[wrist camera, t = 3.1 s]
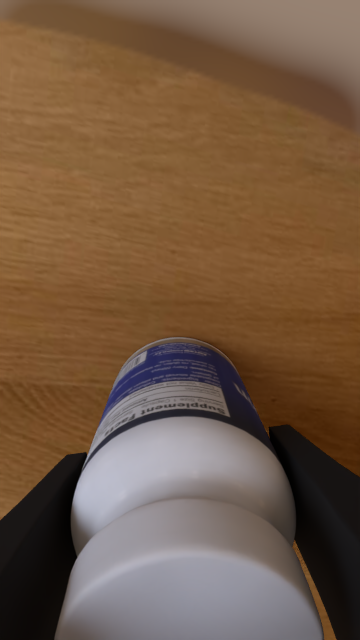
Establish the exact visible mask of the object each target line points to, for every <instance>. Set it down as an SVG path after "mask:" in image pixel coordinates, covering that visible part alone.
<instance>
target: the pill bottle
mask: <svg viewBox="0 0 360 640" xmlns="http://www.w3.org/2000/svg"><path fill="white" fill-rule="evenodd" d="M295 531H296V508H295V501H294V496H293V492H292V489H291V486H290V483H289V480H288V478H287V475H286V473H285V470H284V468H283V466H282V464H281V461H280V459H279V457H278V455H277V453H276V451H275V449H274V447H273V445H272V443H271V441H270V439H269V437H268V435H267V433H266V431H265V429H264V426H263V424H262V422H261V420H260V418H259V416H258V414H257V411H256V409H255V407H254V405H253V403H252V401H251V399H250V396H249V394H248V392H247V390H246V388H245V386H244V384H243V382H242V380H241V377H240V375H239V373H238V371H237V370H236V368H235V366H234V365H233V363H232V362H231V361H230V360H229V358H228V357H227V356H226V355H225V354H224V353H222V352H221V351H220V350H218V349H217V348H215V347H214V346H212V345H210V344H208V343H205V342H203V341H200V340H197V339H192V338H185V337H173V338H166V339H161V340H158V341H155V342H153V343H150V344H148V345H146V346H144V347H143V348H141V349H140V350H138V351H137V352H135V353H134V354H133V355H132V356H131V357H130V358H129V359H128V360H127V361H126V363H125V364H124V365H123V367H122V368H121V370H120V372H119V374H118V376H117V378H116V380H115V382H114V385H113V388H112V391H111V393H110V396H109V399H108V401H107V404H106V407H105V410H104V413H103V415H102V418H101V421H100V424H99V426H98V429H97V432H96V434H95V437H94V440H93V442H92V445H91V448H90V451H89V453H88V456H87V458H86V461H85V464H84V466H83V469H82V472H81V474H80V477H79V480H78V483H77V487H76V490H75V493H74V498H73V503H72V509H71V534H72V539H73V544H74V548H75V551H76V555H77V557H78V558H77V559H76V561H75V563H74V566H73V568H72V571H71V573H70V577H69V581H68V585H67V589H66V594H65V598H64V602H63V606H62V609H61V613H60V617H59V621H58V625H57V629H56V633H55V638H54V640H324V634H323V628H322V623H321V619H320V616H319V613H318V610H317V607H316V604H315V602H314V599H313V596H312V593H311V590H310V588H309V585H308V582H307V580H306V577H305V575H304V572H303V570H302V567H301V564H300V562H299V559H298V557H297V555H296V553H295V551H294V549H293V548H292V546H293V542H294V538H295Z"/></svg>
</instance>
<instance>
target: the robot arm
mask: <svg viewBox="0 0 360 640" xmlns="http://www.w3.org/2000/svg"><path fill="white" fill-rule="evenodd" d="M269 437H270V441H271V443H272V445H273V447H274V449H275V451H276V453H277V455H278V457H279V459H280V461H281V464H282V466H283V468H284V470H285V473H286V475H287V478H288V480H289V483H290V486H291V489H292V492H293V496H294V501H295V508H296V531H295V538H294V539H295V541H296V544H297V546H298V548H299V550H300V553H301V555H302V557H303V559H304V561H305V564H306V566H307V568H308V570H309V572H310V575H311V577H312V579H313V581H314V584H315V586H316V588H317V590H318V592H319V595H320V597H321V599H322V602H323V604H324V607H325V609H326V612H327V614H328V617H329V620H330V622H331V625H332V628H333V631H334V634H335V636H336V639H337V640H360V477H359V476H357V475H355V474H354V473H352V472H351V471H349V470H348V469H346V468H345V467H344V466H342V465H341V464H339V463H338V462H336V461H335V460H334V459H332V458H331V457H330V456H328V455H327V454H326V453H324V452H323V451H322V450H320V449H319V448H318V447H316V446H315V445H314V444H313V443H311V442H310V441H309V440H307V439H306V438H305V437H304V436H302V435H301V434H300V433H299V432H297V431H296V430H295V429H293V428H292V427H291V426H290V425H281V426H274V427H269ZM86 458H87V454H86V452H84V453H77V454H70V455H66V456H65V457H64V458H63V459H62V460H61V461H60V462H59V463H58V464H57V465H56V466H55V467H54V468H53V469H52V470H51V471H50V472H49V473H48V474H47V475H46V476H45V477H44V478H43V479H42V480H41V481H40V482H39V483H38V484H37V485H36V486H35V487H34V488H33V489H32V490H31V491H30V492H29V493H28V494H27V495H26V496H25V497H24V498H23V499H22V500H21V501H20V502H19V503H18V504H17V505H16V506H15V507H14V508H13V509H12V510H11V511H10V512H9V513H8V514H7V515H6V516H4V517H3V518H2V519H1V520H0V640H54V638H55V633H56V629H57V625H58V621H59V617H60V613H61V609H62V606H63V602H64V598H65V594H66V589H67V585H68V581H69V577H70V573H71V571H72V568H73V566H74V563H75V561H76V559H77V558H78V557H77V555H76V551H75V548H74V544H73V539H72V534H71V509H72V503H73V498H74V493H75V490H76V487H77V483H78V480H79V477H80V474H81V472H82V469H83V466H84V464H85V461H86Z"/></svg>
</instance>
